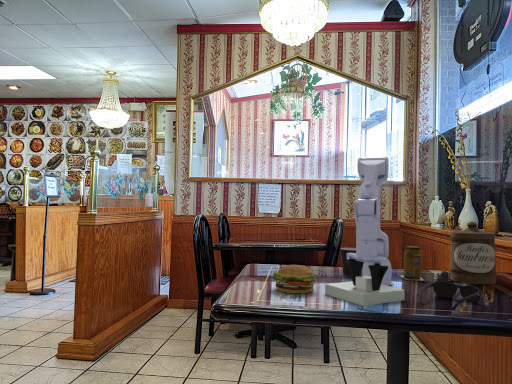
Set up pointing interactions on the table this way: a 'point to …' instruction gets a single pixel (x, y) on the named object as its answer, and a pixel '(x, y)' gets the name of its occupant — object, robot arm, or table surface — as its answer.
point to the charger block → (364, 283)
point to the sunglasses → (454, 291)
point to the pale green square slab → (364, 294)
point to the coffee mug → (344, 259)
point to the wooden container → (473, 256)
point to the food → (294, 279)
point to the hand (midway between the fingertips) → (366, 287)
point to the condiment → (412, 263)
